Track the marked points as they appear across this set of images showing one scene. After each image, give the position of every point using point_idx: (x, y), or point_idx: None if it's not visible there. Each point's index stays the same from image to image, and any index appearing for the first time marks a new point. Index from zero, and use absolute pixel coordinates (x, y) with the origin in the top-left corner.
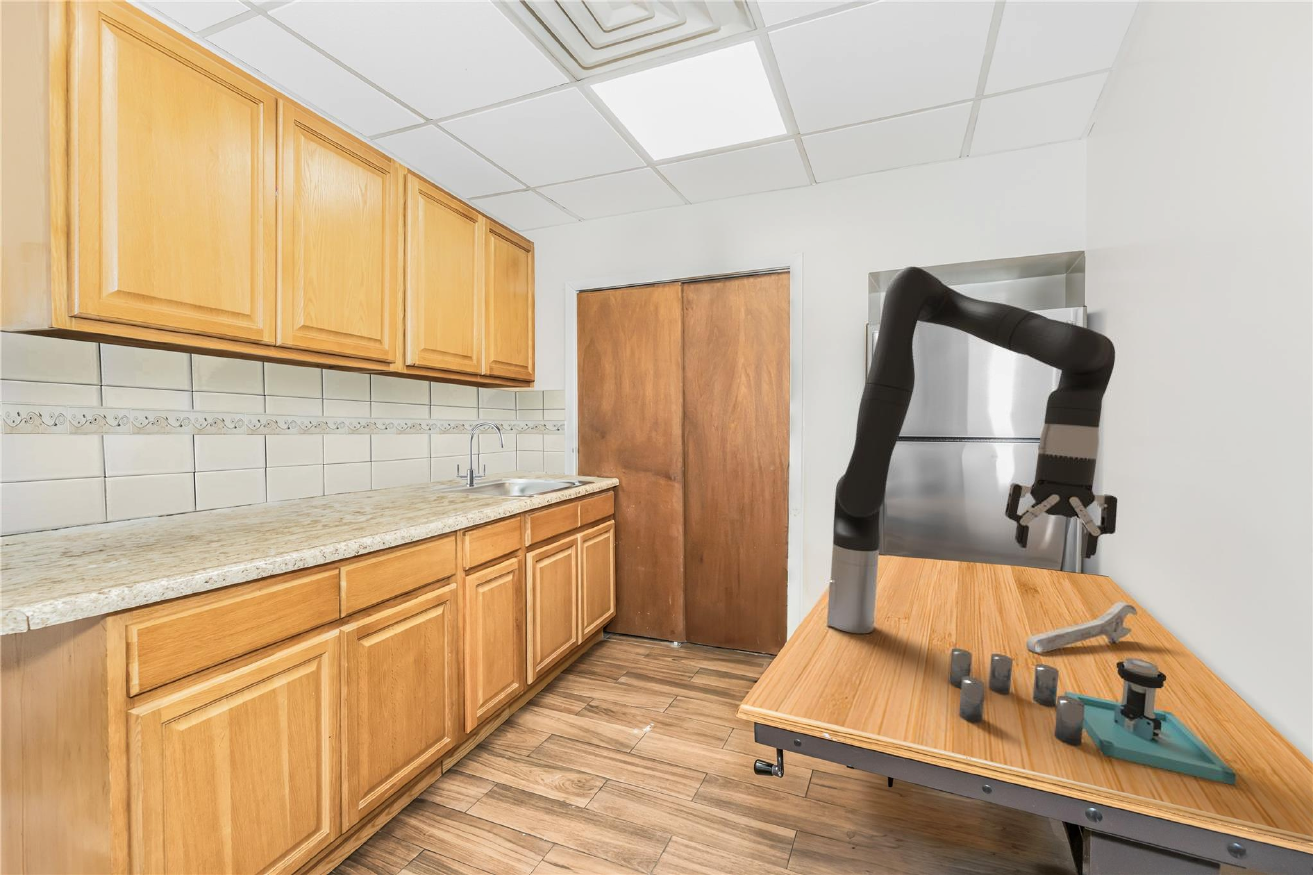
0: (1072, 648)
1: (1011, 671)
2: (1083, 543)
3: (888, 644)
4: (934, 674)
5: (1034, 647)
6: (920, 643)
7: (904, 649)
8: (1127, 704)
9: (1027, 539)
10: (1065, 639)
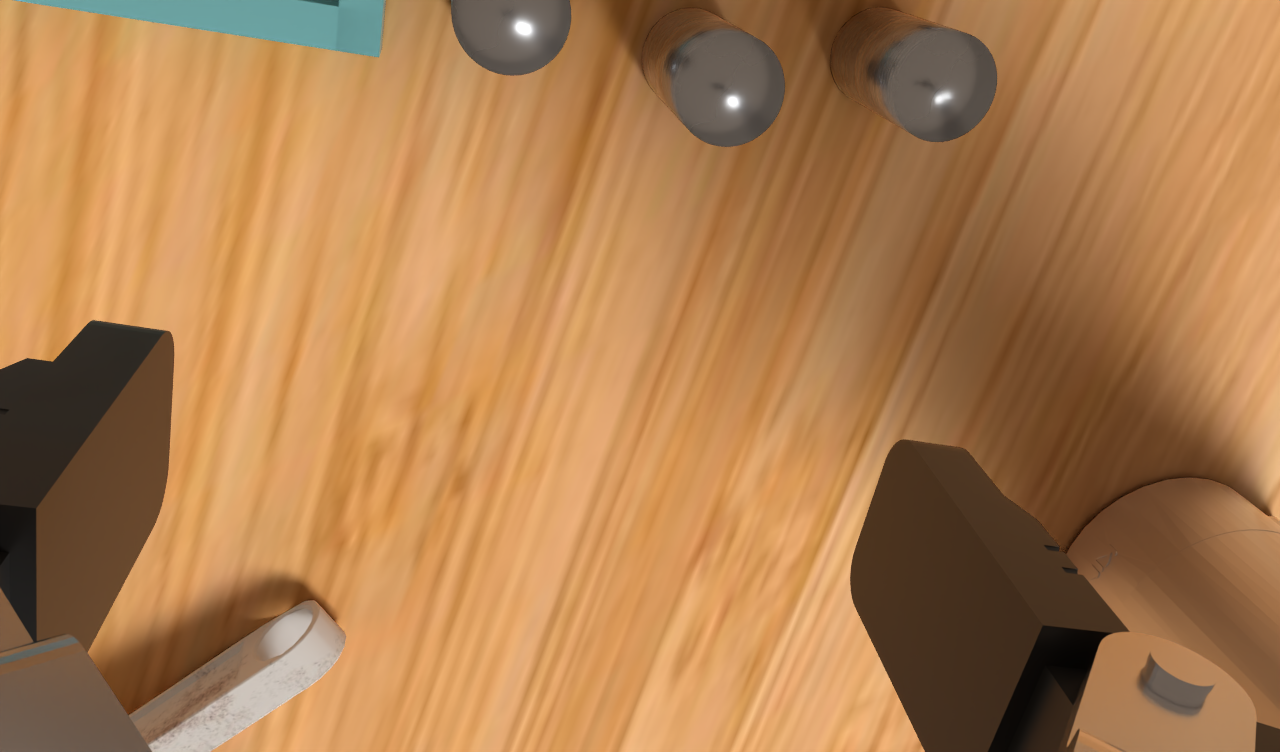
0: None
1: (672, 50)
2: (103, 575)
3: (1049, 415)
4: None
5: (316, 611)
6: None
7: (991, 385)
8: None
9: (951, 490)
10: None
